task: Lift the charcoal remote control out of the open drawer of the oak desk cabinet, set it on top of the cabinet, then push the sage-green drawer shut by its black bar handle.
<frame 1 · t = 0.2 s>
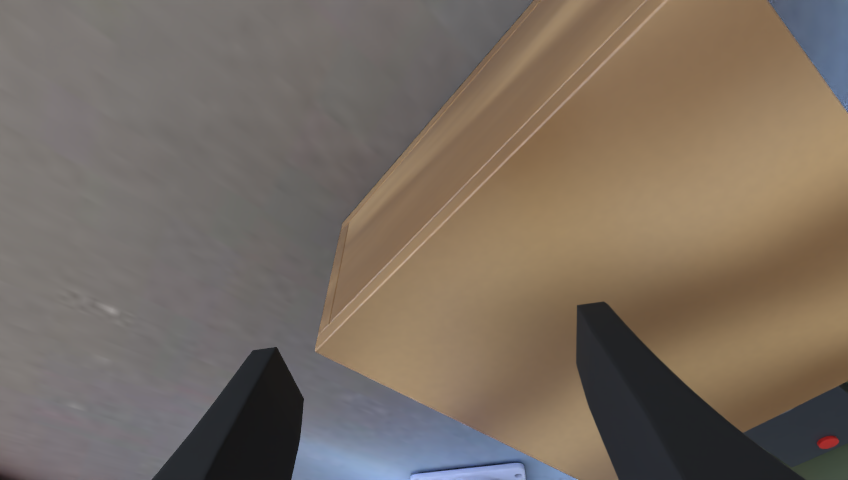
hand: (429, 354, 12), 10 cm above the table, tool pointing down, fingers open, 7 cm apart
remote: (755, 363, 24), point 2 cm above the table, touching drawer
cabinet: (579, 208, 21), on the table
drawer: (798, 409, 24), point 4 cm above the table, slide at 11.5 cm, touching remote
when the fingers open (8 cm above the table, at t = 6.2 s): remote stays where it is, resting on cabinet.
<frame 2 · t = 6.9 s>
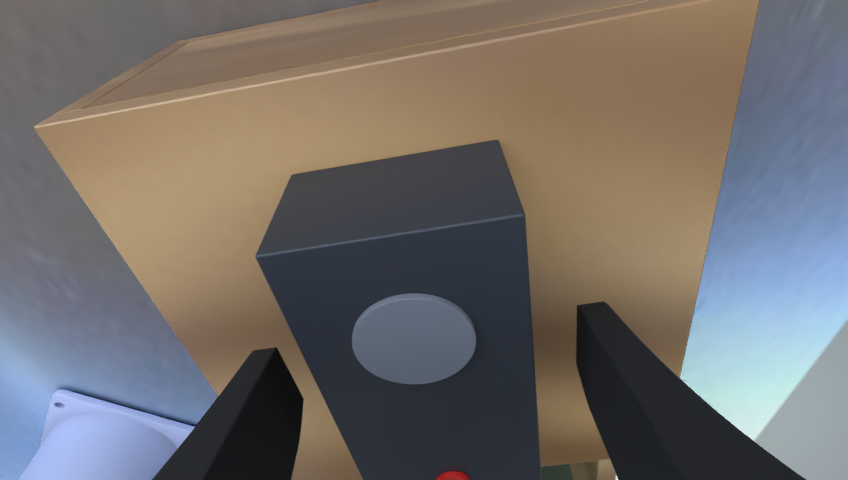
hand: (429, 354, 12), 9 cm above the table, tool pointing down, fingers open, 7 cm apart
remote: (427, 306, 13), point 7 cm above the table, touching cabinet
cabinet: (429, 202, 20), on the table
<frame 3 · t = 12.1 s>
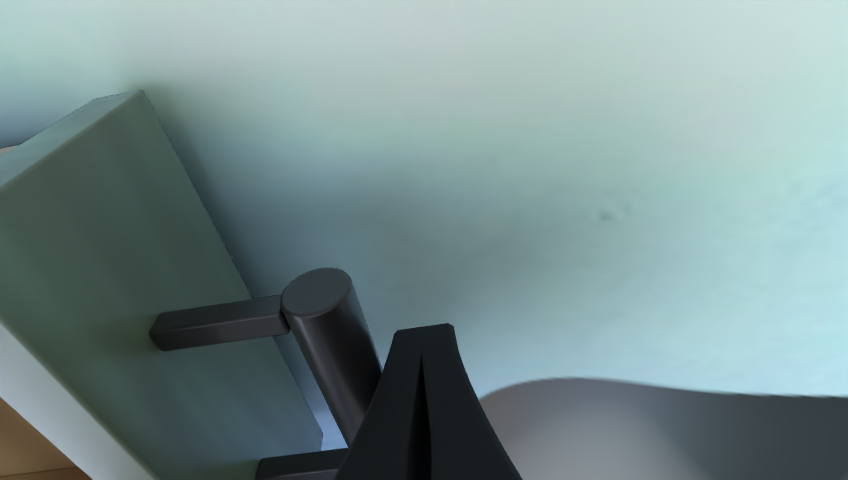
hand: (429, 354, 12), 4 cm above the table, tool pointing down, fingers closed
drawer: (37, 412, 12), point 4 cm above the table, slide at 11.5 cm, touching gripper
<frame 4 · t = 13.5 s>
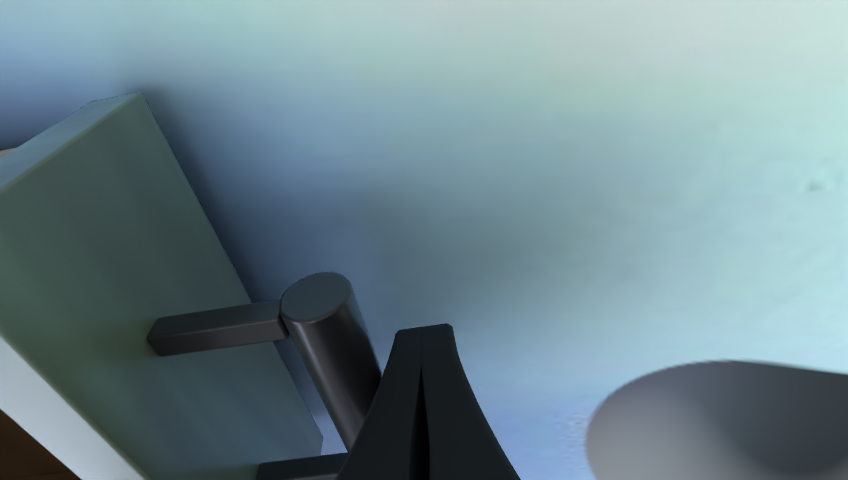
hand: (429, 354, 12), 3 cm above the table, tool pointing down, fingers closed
drawer: (35, 417, 12), point 4 cm above the table, slide at 5.9 cm, touching gripper
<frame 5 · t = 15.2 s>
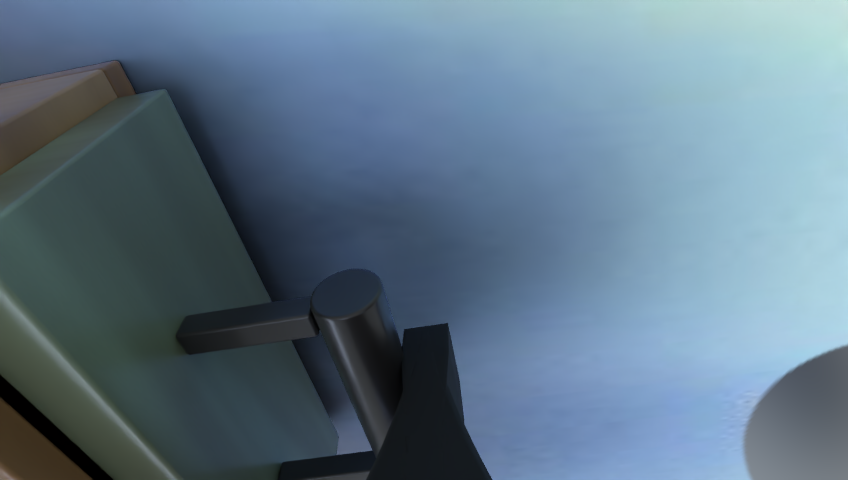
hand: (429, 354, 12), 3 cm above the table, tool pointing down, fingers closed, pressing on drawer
cabinet: (19, 330, 15), on the table
drawer: (56, 417, 12), point 4 cm above the table, slide at 0.0 cm, touching cabinet, gripper
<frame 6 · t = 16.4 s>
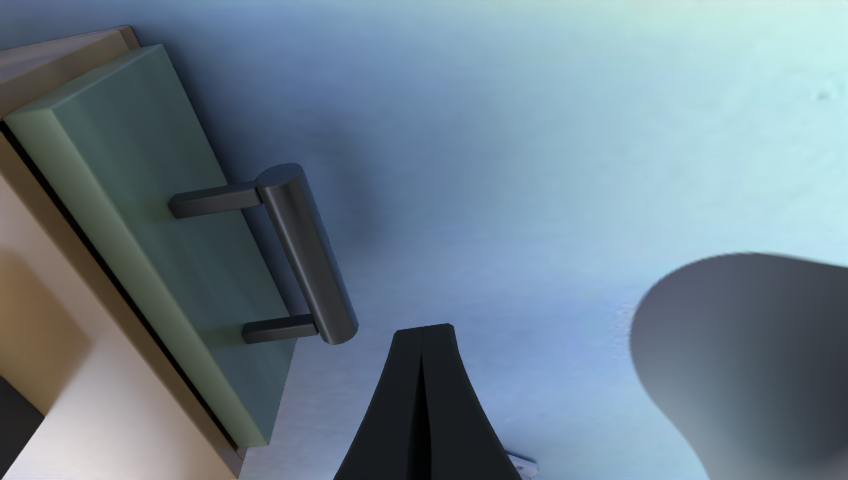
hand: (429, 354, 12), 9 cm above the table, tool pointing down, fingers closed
cabinet: (49, 239, 20), on the table
drawer: (82, 284, 17), point 4 cm above the table, slide at 0.0 cm, touching cabinet
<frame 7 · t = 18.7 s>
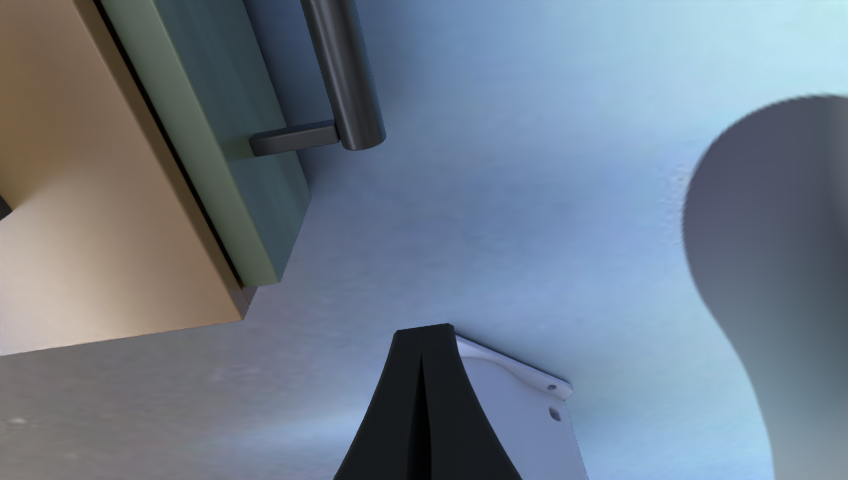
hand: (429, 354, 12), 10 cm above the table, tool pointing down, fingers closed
cabinet: (30, 70, 18), on the table
drawer: (63, 80, 14), point 4 cm above the table, slide at 0.0 cm, touching cabinet
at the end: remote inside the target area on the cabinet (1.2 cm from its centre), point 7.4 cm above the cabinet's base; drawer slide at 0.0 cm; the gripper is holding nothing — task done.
